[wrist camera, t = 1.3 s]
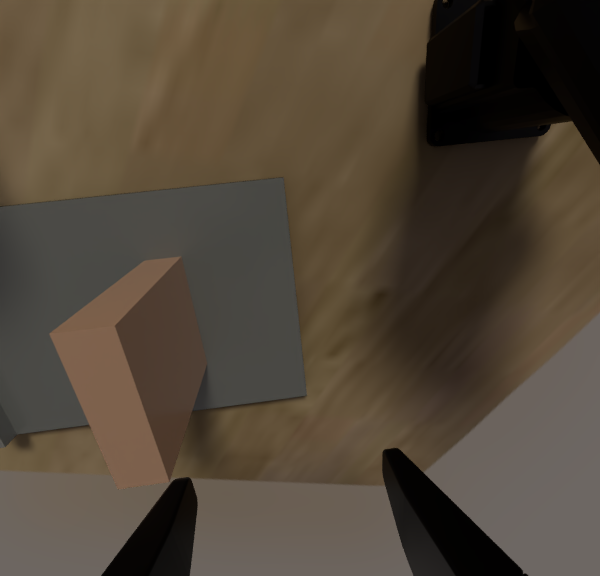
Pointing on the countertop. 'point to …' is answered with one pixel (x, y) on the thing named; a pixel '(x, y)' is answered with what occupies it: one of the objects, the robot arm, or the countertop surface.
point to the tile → (137, 369)
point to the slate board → (125, 257)
